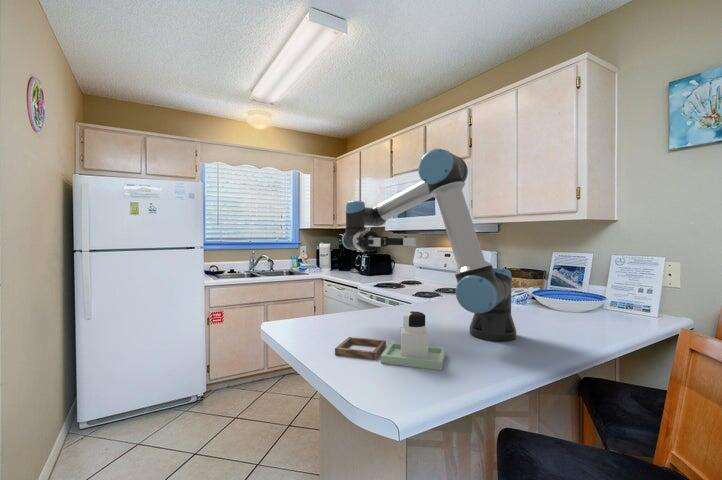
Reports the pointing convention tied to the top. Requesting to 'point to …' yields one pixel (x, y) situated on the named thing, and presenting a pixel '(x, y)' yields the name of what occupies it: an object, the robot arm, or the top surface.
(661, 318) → the top surface
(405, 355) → the medicine bottle
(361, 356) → the frame
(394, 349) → the tray
